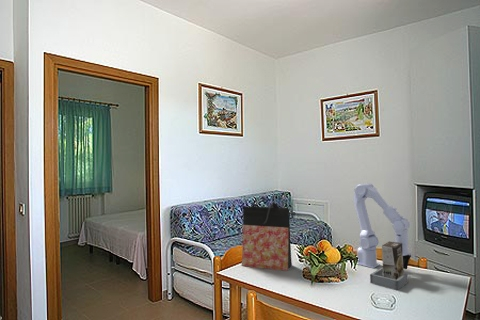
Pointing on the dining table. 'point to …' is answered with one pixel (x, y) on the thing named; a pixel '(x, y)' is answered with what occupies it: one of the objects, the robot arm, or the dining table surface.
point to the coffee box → (392, 260)
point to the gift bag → (266, 237)
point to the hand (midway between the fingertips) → (402, 270)
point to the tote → (387, 280)
